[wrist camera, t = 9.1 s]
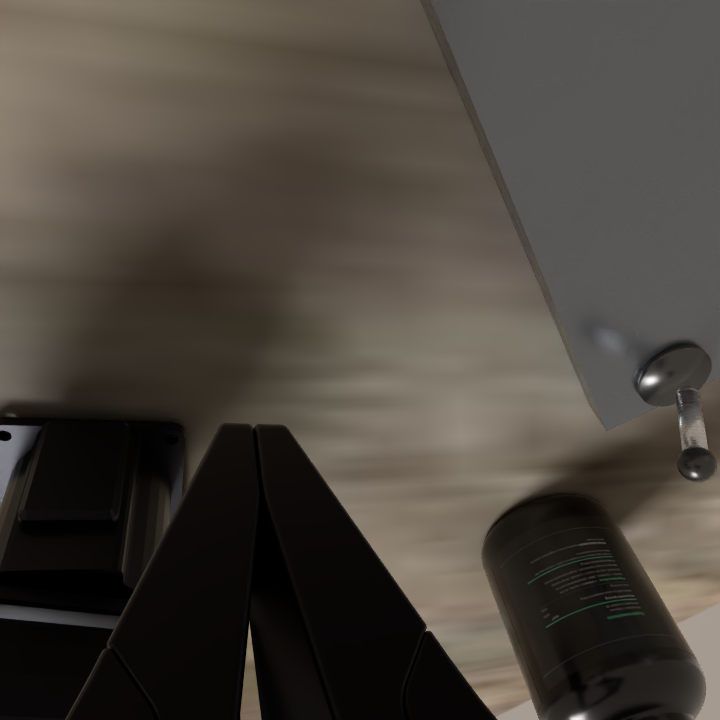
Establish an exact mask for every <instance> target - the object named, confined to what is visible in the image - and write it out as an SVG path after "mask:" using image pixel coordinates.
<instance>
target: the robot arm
mask: <svg viewBox="0 0 720 720" xmlns="http://www.w3.org/2000/svg"><path fill="white" fill-rule="evenodd" d="M2 430H3V431H7V432H9V433H4V432H2ZM167 435H175V437H169V436H167ZM185 435H186V432H185V428H184V427H183V426H182V425H180V424H178V423H174V422H152V421H118V420H84V419H50V418H17V417H2V418H0V505H1V506H0V720H240V710H241V700H242V690H243V679H244V669H245V659H246V649H247V639H248V629H249V621H250V629H251V637H252V645H253V653H254V661H255V670H256V678H257V686H258V694H259V702H260V710H261V718H262V720H497V719H496V717H495V716H494V715H493V714H492V713H491V711H490V710H489V709H488V708H487V706H486V705H485V704H484V703H483V702H482V700H481V699H480V698H479V697H478V695H477V694H476V693H475V691H474V690H473V689H472V687H471V686H470V685H469V683H468V682H467V681H466V679H465V678H464V677H463V675H462V674H461V673H460V671H459V670H458V669H457V667H456V666H455V664H454V663H453V662H452V660H451V659H450V658H449V656H448V655H447V654H446V652H445V651H444V649H443V648H442V646H441V645H440V643H439V642H438V641H437V639H436V638H435V636H434V635H433V633H432V632H431V631H426V628H427V626H426V624H425V622H424V621H423V620H422V618H421V617H420V615H419V614H418V613H417V611H416V610H415V608H414V607H413V605H412V604H411V603H410V601H409V600H408V598H407V597H406V595H405V594H404V593H403V591H402V590H401V588H400V587H399V586H398V584H397V583H396V581H395V580H394V578H393V577H392V576H391V574H390V573H389V571H388V570H387V568H386V567H385V566H384V564H383V563H382V561H381V560H380V559H379V557H378V556H377V554H376V553H375V551H374V550H373V549H372V547H371V546H370V544H369V543H368V541H367V540H366V539H365V537H364V536H363V534H362V533H361V532H360V530H359V529H358V527H357V526H356V524H355V523H354V522H353V520H352V519H351V517H350V516H349V515H348V513H347V512H346V510H345V509H344V507H343V506H342V505H341V503H340V502H339V500H338V499H337V497H336V496H335V495H334V493H333V492H332V490H331V489H330V488H329V486H328V485H327V483H326V482H325V480H324V479H323V478H322V476H321V475H320V473H319V472H318V470H317V469H316V468H315V466H314V465H313V463H312V462H311V461H310V459H309V458H308V456H307V455H306V453H305V452H304V451H303V449H302V448H301V446H300V445H299V444H298V442H297V441H296V439H295V438H294V436H293V435H292V434H291V432H290V431H289V429H288V428H287V427H285V426H284V425H270V424H258V425H256V426H255V427H254V428H253V427H252V426H251V425H250V424H238V423H223V424H222V425H220V427H219V428H218V430H217V432H216V434H215V436H214V437H213V439H212V441H211V443H210V445H209V447H208V449H207V451H206V453H205V455H204V457H203V459H202V461H201V463H200V464H199V466H198V468H197V470H196V472H195V474H194V476H193V478H192V480H191V482H190V484H189V486H188V488H187V490H186V491H185V493H184V495H183V497H182V485H183V469H184V452H185ZM425 631H426V632H425Z"/></svg>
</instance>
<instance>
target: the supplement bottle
mask: <svg viewBox="0 0 720 720" xmlns="http://www.w3.org/2000/svg"><path fill="white" fill-rule="evenodd" d="M482 563H483V567H484V570H485V573H486V576H487V578H488V581H489V584H490V587H491V590H492V593H493V595H494V598H495V601H496V604H497V606H498V609H499V612H500V614H501V617H502V620H503V623H504V625H505V628H506V631H507V634H508V636H509V639H510V642H511V644H512V647H513V650H514V653H515V655H516V658H517V661H518V664H519V666H520V669H521V672H522V674H523V677H524V680H525V683H526V685H527V688H528V691H529V694H530V696H531V699H532V702H533V704H534V707H535V710H536V713H537V715H538V718H539V720H695V718H696V717H697V715H698V714H699V712H700V710H701V708H702V706H703V703H704V700H705V695H706V682H705V676H704V673H703V671H702V668H701V666H700V664H699V663H698V661H697V659H696V657H695V655H694V653H693V652H692V650H691V648H690V647H689V645H688V643H687V642H686V640H685V638H684V636H683V635H682V633H681V631H680V630H679V628H678V626H677V624H676V623H675V621H674V619H673V618H672V616H671V614H670V612H669V611H668V609H667V607H666V606H665V604H664V602H663V601H662V599H661V597H660V595H659V594H658V592H657V590H656V589H655V587H654V585H653V583H652V582H651V580H650V578H649V577H648V575H647V573H646V572H645V570H644V568H643V566H642V565H641V563H640V561H639V560H638V558H637V556H636V555H635V553H634V551H633V549H632V548H631V546H630V544H629V543H628V541H627V539H626V537H625V536H624V534H623V532H622V531H621V529H620V528H619V526H618V524H617V523H616V521H615V519H614V518H613V516H612V515H611V513H610V512H609V511H608V509H607V508H606V507H605V506H604V505H602V504H601V503H599V502H598V501H596V500H594V499H591V498H589V497H585V496H581V495H573V494H562V495H553V496H548V497H544V498H540V499H537V500H534V501H532V502H529V503H527V504H525V505H522V506H520V507H519V508H517V509H515V510H513V511H512V512H510V513H509V514H507V515H506V516H505V517H503V518H502V519H501V520H500V521H499V522H498V523H497V524H496V525H495V526H494V527H493V528H492V530H491V531H490V532H489V534H488V536H487V537H486V540H485V542H484V545H483V549H482Z"/></svg>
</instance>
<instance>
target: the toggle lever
mask: <svg viewBox="0 0 720 720" xmlns="http://www.w3.org/2000/svg"><path fill="white" fill-rule="evenodd" d="M676 403H677V412H678V421H679V430H680V438H681V447H682V452H681V453H680V454H679V456H678V459H677V468H678V470H679V472H680V474H681V475H682V476H683V477H684V478H686V479H687V480H689V481H692V482H704V481H707V480H709V479H710V478H712V477H713V476H714V474H715V472H716V470H717V462H716V459H715V457H714V455H713V454H712V453H711V452H710V451H709V450H708V446H707V439H706V432H705V425H704V418H703V411H702V404H701V397H700V393H699V391H698V390H697V389H696V388H695V387H693V386H690V385H686V386H682V387H680V388H679V389H678V390H677V392H676Z"/></svg>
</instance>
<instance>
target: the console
mask: <svg viewBox="0 0 720 720" xmlns="http://www.w3.org/2000/svg"><path fill="white" fill-rule="evenodd" d="M421 2H422V5H423V7H424V9H425V12H426V14H427V17H428V19H429V21H430V24H431V26H432V29H433V31H434V33H435V36H436V38H437V41H438V43H439V45H440V48H441V50H442V53H443V55H444V57H445V60H446V62H447V65H448V67H449V69H450V72H451V74H452V77H453V79H454V81H455V84H456V86H457V89H458V91H459V93H460V96H461V98H462V101H463V103H464V105H465V108H466V110H467V113H468V115H469V117H470V120H471V122H472V124H473V127H474V129H475V132H476V134H477V136H478V139H479V141H480V144H481V146H482V148H483V151H484V153H485V156H486V158H487V160H488V163H489V165H490V168H491V170H492V172H493V175H494V177H495V180H496V182H497V184H498V187H499V189H500V192H501V194H502V196H503V199H504V201H505V204H506V206H507V208H508V211H509V213H510V216H511V218H512V220H513V223H514V225H515V228H516V230H517V232H518V235H519V237H520V240H521V242H522V244H523V247H524V249H525V251H526V254H527V256H528V259H529V261H530V263H531V266H532V268H533V271H534V273H535V275H536V278H537V280H538V283H539V285H540V287H541V290H542V292H543V295H544V297H545V299H546V302H547V304H548V307H549V309H550V311H551V314H552V316H553V319H554V321H555V323H556V326H557V328H558V331H559V333H560V335H561V338H562V340H563V343H564V345H565V347H566V350H567V352H568V355H569V357H570V359H571V362H572V364H573V367H574V369H575V371H576V374H577V376H578V378H579V381H580V383H581V386H582V388H583V390H584V393H585V395H586V398H587V400H588V402H589V405H590V407H591V408H592V410H593V411H594V413H595V414H596V416H597V417H598V419H599V420H600V422H601V423H602V425H603V427H604V428H605V430H606V431H608V430H610V429H612V428H614V427H616V426H618V425H621V424H623V423H625V422H627V421H629V420H631V419H633V418H635V417H638V416H640V415H642V414H644V413H646V412H648V411H650V410H652V409H654V408H657V407H659V406H668V405H672V404H675V403H676V392H677V390H678V389H679V388H680V387H682V386H686V385H690V386H693V387H695V388H696V389H697V390H699V389H700V388H701V387H702V386H703V385H705V384H707V383H709V382H712V381H714V380H716V379H718V378H720V0H421Z"/></svg>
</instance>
